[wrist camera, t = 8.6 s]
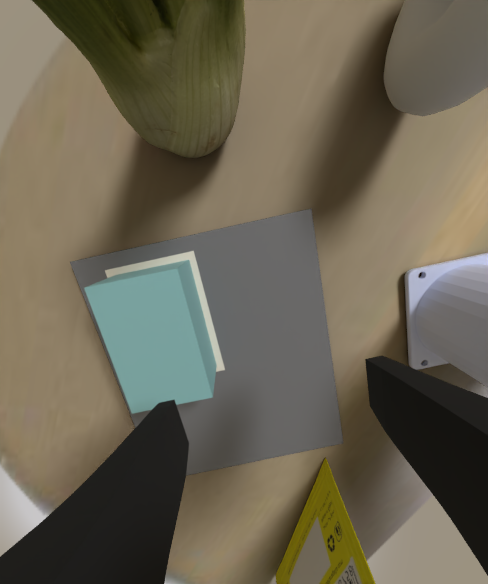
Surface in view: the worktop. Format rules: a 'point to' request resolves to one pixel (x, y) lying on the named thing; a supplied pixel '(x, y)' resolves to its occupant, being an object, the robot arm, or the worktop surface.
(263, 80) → the worktop surface
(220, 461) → the mat
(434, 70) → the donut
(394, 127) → the worktop surface
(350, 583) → the food package
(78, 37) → the fennel bulb
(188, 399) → the card box
